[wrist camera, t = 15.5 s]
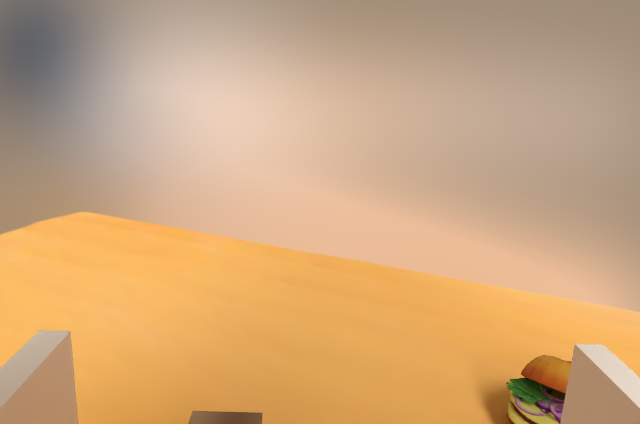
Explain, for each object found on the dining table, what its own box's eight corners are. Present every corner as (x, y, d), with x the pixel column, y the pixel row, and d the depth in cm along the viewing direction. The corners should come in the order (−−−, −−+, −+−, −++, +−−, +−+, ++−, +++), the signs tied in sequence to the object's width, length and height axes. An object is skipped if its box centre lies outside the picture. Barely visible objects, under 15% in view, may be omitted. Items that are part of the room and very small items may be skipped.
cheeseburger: (481, 437, 55) (503, 347, 55) (519, 417, 63) (538, 338, 63) (582, 489, 49) (607, 387, 48) (609, 460, 57) (632, 372, 56)
